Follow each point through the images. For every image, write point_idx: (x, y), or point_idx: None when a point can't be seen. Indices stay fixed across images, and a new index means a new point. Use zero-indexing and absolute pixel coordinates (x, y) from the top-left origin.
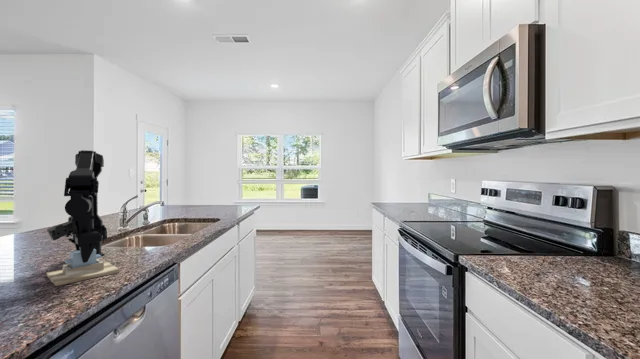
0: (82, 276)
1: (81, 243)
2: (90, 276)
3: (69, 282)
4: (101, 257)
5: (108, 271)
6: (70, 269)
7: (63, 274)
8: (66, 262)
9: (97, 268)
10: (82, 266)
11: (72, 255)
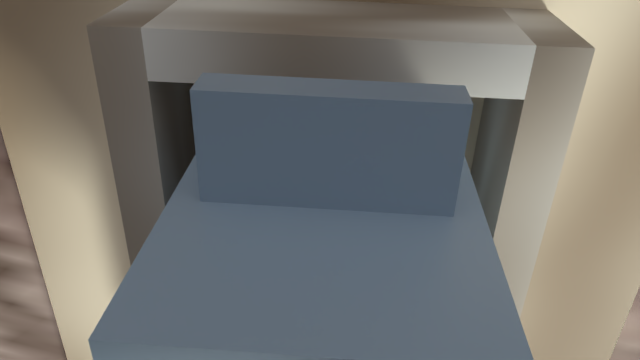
0: (35, 135)
1: None
2: (34, 199)
3: None
4: None
5: (66, 355)
6: (101, 67)
7: None
8: (218, 83)
9: None
10: (143, 235)
11: (186, 288)
